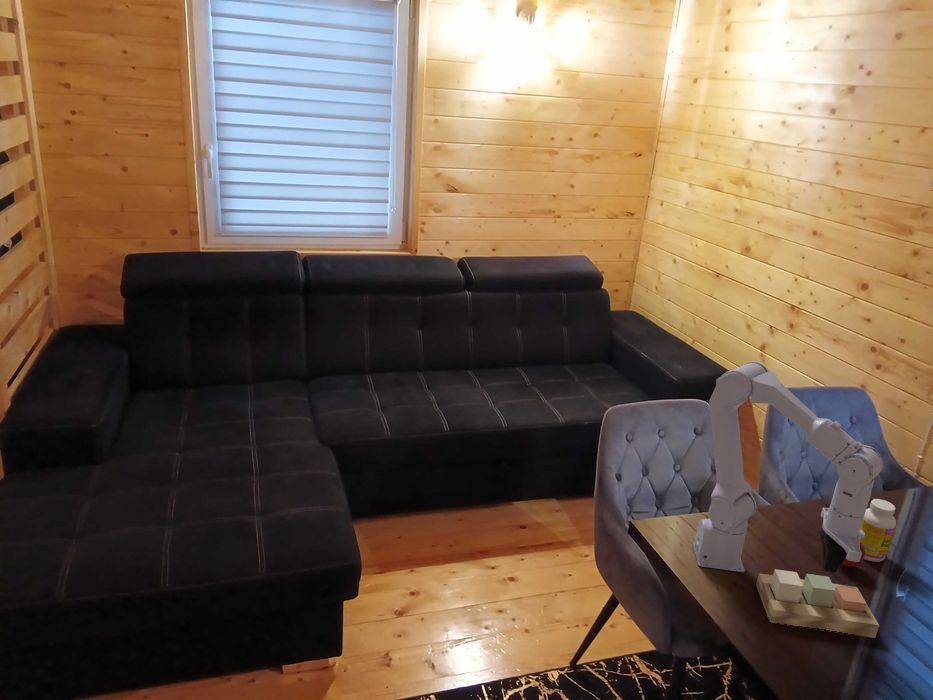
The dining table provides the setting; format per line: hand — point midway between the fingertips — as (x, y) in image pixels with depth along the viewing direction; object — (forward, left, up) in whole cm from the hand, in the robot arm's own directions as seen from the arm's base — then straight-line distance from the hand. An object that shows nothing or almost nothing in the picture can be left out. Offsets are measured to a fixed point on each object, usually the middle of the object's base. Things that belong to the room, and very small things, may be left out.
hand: (829, 569), depth 133 cm
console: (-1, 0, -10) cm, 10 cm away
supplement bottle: (+18, +23, -10) cm, 31 cm away
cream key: (-7, 0, -7) cm, 10 cm away
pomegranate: (+11, +17, -10) cm, 23 cm away
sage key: (-1, 0, -7) cm, 7 cm away
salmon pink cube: (+5, 0, -9) cm, 10 cm away
